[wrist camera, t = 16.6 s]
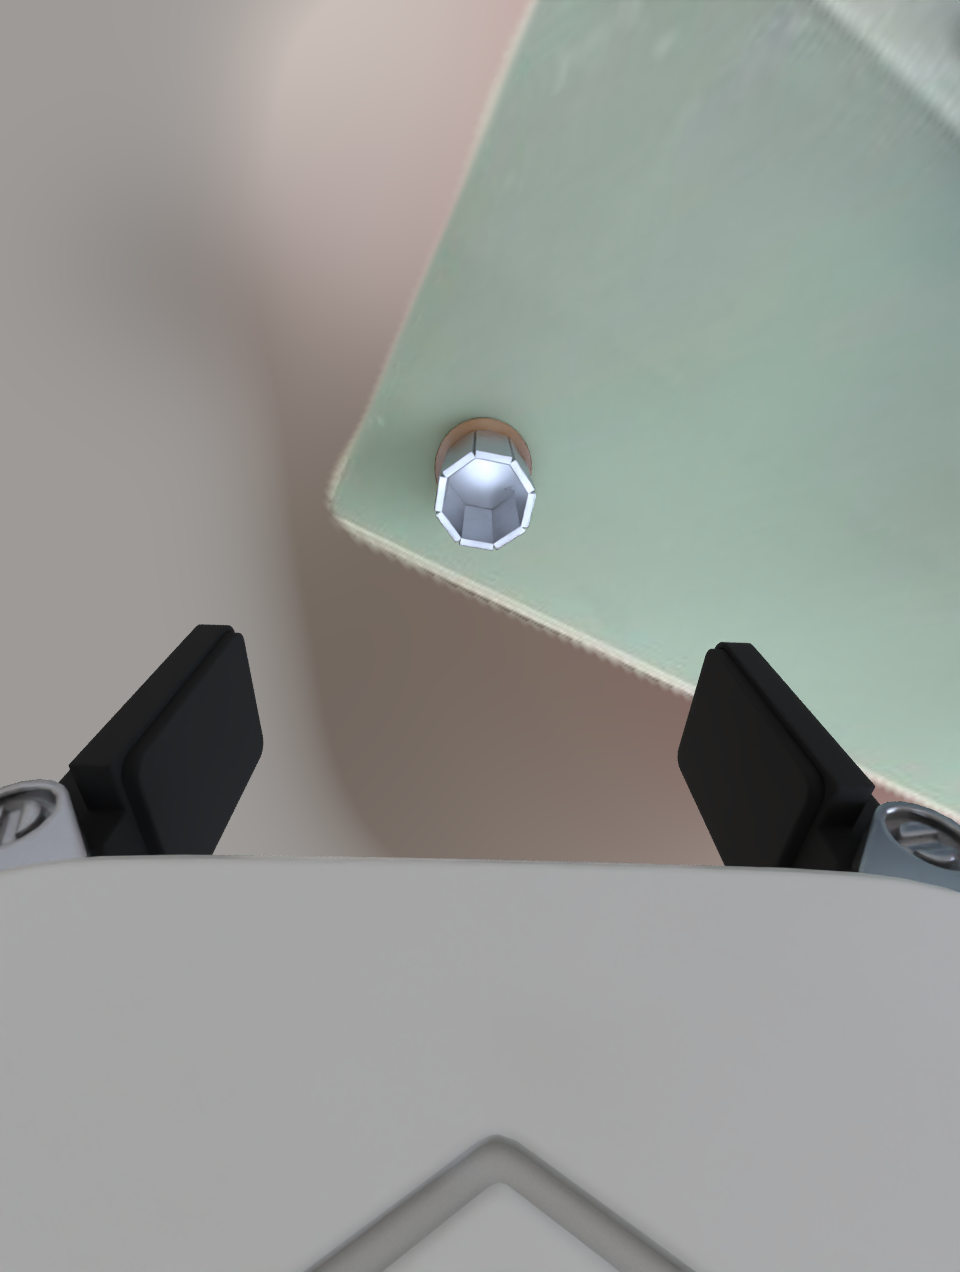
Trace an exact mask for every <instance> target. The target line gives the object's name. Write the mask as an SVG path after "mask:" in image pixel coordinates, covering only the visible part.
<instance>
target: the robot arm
mask: <svg viewBox="0 0 960 1272" xmlns="http://www.w3.org/2000/svg"><path fill="white" fill-rule="evenodd" d="M262 750H263V735H262V730H261V725H260V720H259V715H258V710H257V704H256V699H255V694H254V689H253V684H252V678H251V673H250V668H249V663H248V658H247V653H246V647H245V643H244V639H243V636H242V634H240V633H235V632H234V630H233V628H232V627H231V626H229V625H198V626H196V627H195V628H194V629H193V631H192V632H191V633H190V634H189V635H188V636H187V637H186V638H185V639H184V640H183V641H182V643H181V644H180V645H179V646H178V647H177V648H176V649H175V650H174V651H173V652H172V653H171V654H170V655H169V657H168V658H167V659H166V660H165V661H164V662H163V663H162V664H161V665H160V666H159V667H158V669H157V670H156V671H155V672H154V673H153V674H152V675H151V676H150V677H149V678H148V680H147V681H146V682H145V683H144V684H143V685H142V686H141V687H140V688H139V689H138V690H137V691H136V692H135V694H134V695H133V696H132V697H131V698H130V699H129V700H128V701H127V702H126V703H125V704H124V705H123V707H122V708H121V709H120V710H119V711H118V712H117V713H116V714H115V715H114V717H112V719H111V720H110V721H109V722H108V723H107V724H106V725H105V726H104V727H103V728H102V729H101V730H100V732H99V733H98V734H97V735H96V736H95V737H94V738H93V739H92V740H91V741H90V742H89V744H88V745H87V746H86V747H85V748H84V749H83V750H82V751H81V752H80V753H79V754H78V755H77V757H76V758H75V759H74V760H73V761H72V762H71V763H70V764H69V768H70V770H69V772H68V773H67V774H66V775H65V776H64V777H63V778H62V779H61V780H60V782H59V783H57V782H55V781H52V780H41V779H38V780H29V781H21V782H18V783H14V784H11V785H7V786H4V787H1V788H0V1272H960V825H959V824H958V823H956V822H955V821H953V820H952V819H950V818H948V817H946V816H944V815H942V814H940V813H938V812H936V811H934V810H932V809H929V808H926V807H923V806H920V805H917V804H913V803H907V802H901V801H898V802H886V803H884V804H882V805H880V804H879V803H878V802H877V801H876V799H875V798H874V797H873V796H872V795H871V794H872V792H873V790H874V788H875V786H874V784H873V783H872V782H871V781H870V780H869V779H868V777H867V776H866V775H865V774H864V773H863V772H862V771H861V769H860V768H859V767H858V766H857V765H856V764H855V762H854V761H853V760H852V759H851V758H850V757H849V756H848V754H847V753H846V752H845V751H844V750H843V749H842V748H841V746H840V745H839V744H838V743H837V742H836V741H835V739H834V738H833V737H832V736H831V735H830V734H829V733H828V731H827V730H826V729H825V728H824V727H823V726H822V724H821V723H820V722H819V721H818V720H817V719H816V718H815V716H814V715H813V714H812V713H811V712H810V711H809V710H808V708H807V707H806V706H805V705H804V704H803V703H802V701H801V700H800V699H799V698H798V697H797V696H796V695H795V693H794V692H793V691H792V690H791V689H790V688H789V686H788V685H787V684H786V683H785V682H784V681H783V680H782V678H781V677H780V676H779V675H778V674H777V673H776V671H775V670H774V669H773V668H772V667H771V666H770V665H769V663H768V662H767V661H766V660H765V659H764V658H763V657H762V655H761V654H760V653H759V652H758V651H757V650H756V648H755V647H754V646H753V645H751V644H750V643H730V642H720V643H719V644H717V646H716V647H715V649H710V650H708V652H707V653H706V656H705V659H704V663H703V666H702V670H701V673H700V677H699V680H698V684H697V687H696V690H695V694H694V697H693V701H692V704H691V708H690V711H689V715H688V718H687V722H686V725H685V728H684V732H683V736H682V739H681V742H680V746H679V749H678V764H679V767H680V770H681V772H682V774H683V776H684V779H685V781H686V783H687V785H688V787H689V789H690V792H691V794H692V796H693V798H694V800H695V802H696V805H697V806H698V809H699V811H700V813H701V815H702V817H703V819H704V822H705V824H706V826H707V828H708V830H709V833H710V834H711V837H712V839H713V841H714V843H715V846H716V847H717V850H718V852H719V854H720V856H721V858H722V861H723V862H724V865H725V866H712V865H709V866H708V865H676V864H674V865H673V864H638V863H601V862H564V861H563V862H562V861H521V860H520V861H519V860H477V859H475V860H474V859H427V858H377V857H376V858H375V857H372V858H371V857H315V856H314V857H313V856H254V855H212V854H213V852H214V850H215V848H216V846H217V844H218V842H219V840H220V838H221V836H222V834H223V832H224V829H225V828H226V826H227V824H228V821H229V820H230V817H231V815H232V814H233V812H234V809H235V807H236V805H237V803H238V801H239V799H240V797H241V795H242V793H243V791H244V789H245V787H246V785H247V783H248V781H249V779H250V777H251V775H252V773H253V771H254V769H255V767H256V765H257V763H258V761H259V759H260V757H261V754H262Z"/></svg>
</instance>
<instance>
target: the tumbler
mask: <svg viewBox="0 0 960 1272" xmlns="http://www.w3.org/2000/svg"><path fill="white" fill-rule="evenodd" d="M535 497H536V493H535V487H534V484H533V481H532V478H531V476H530V473H529V470H528V467H527V464H526V462H525V460H524V459H523V457H522V455H521V454H520V452H519V450H518V448H517V447H516V446H515V444H514V443H513V441H512V440H511V438H509V439H508V438H507V435H502V434H499V433H497V432H493V431H482V430H477V431H476V432H474V431H472V432H471V433H469V434H467V435H465V436H464V437H462V438H461V439H460V440H458V441H457V442H456V443H455V444H454V445H453V446H451V447H450V448H449V450H448V452H447V453H446V456H445V459H444V462H443V466H442V469H441V472H440V475H439V481H438V488H437V495H436V501H435V508H434V511H436V517H437V518H438V519H439V521H440V522H441V524H442V525H443V526H444V528H445V529H446V530H447V532H448V533H449V534H450V536H451V537H452V538H453V540H454V541H455V542H458V541H459V540H460V541H459V545H463V546H468V547H474V548H479V549H485V550H491V551H493V548H494V547H495V548H496V550H498V549H499V548H501V547H502V546H504V545H505V544H507V543H509V542H510V541H512V540H513V539H515V538H516V537H518V536H519V535H521V534H522V533H524V532H525V528H528V526H529V522H530V518H531V514H532V509H533V505H534V501H535Z"/></svg>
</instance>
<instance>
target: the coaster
mask: <svg viewBox="0 0 960 1272" xmlns="http://www.w3.org/2000/svg"><path fill="white" fill-rule="evenodd" d="M477 430H482V431H493V432H497V433H499V434H502V435H507V438H508V439H509V438H511V440H512V441H513V443H514V444H515V446H516V447H517V448H518V450H519V452H520V454H521V455H522V457H523V459H524V460H525V462H526V464H527V467H528V470H529V473H530V476H531V474H532V462H531V456H530V453H529V450H528V447H527V445H526V443H525V441H524V440H523V438H522V437H521V435H520V434H519V433H518V432H517V431H516V430H515V429H514V428H513V427H511V426H510V425H508V424H507V423H505V422H503V421H500V420H497V419H494V418H487V417H479V418H473V419H469V420H466V421H464V422H462V423H460V424H458V425H457V426H455V427H454V428H453V429H452V430H451V431H450V432H449V433H448V434H447V435H446V436H445V438H444V439H443V441H442V442H441V444H440V446H439V449H438V452H437V454H436V459H435V477H436V481H437V484H438V481H439V475H440V472H441V469H442V466H443V462H444V459H445V456H446V453H447V452H448V450H449V448H450V447H451V446H453V445H454V444H455V443H456V442H457V441H458V440H460V439H461V438H462V437H464V436H465V435H467V434H469V433H471V432H472V431H474V432H476V431H477Z"/></svg>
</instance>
